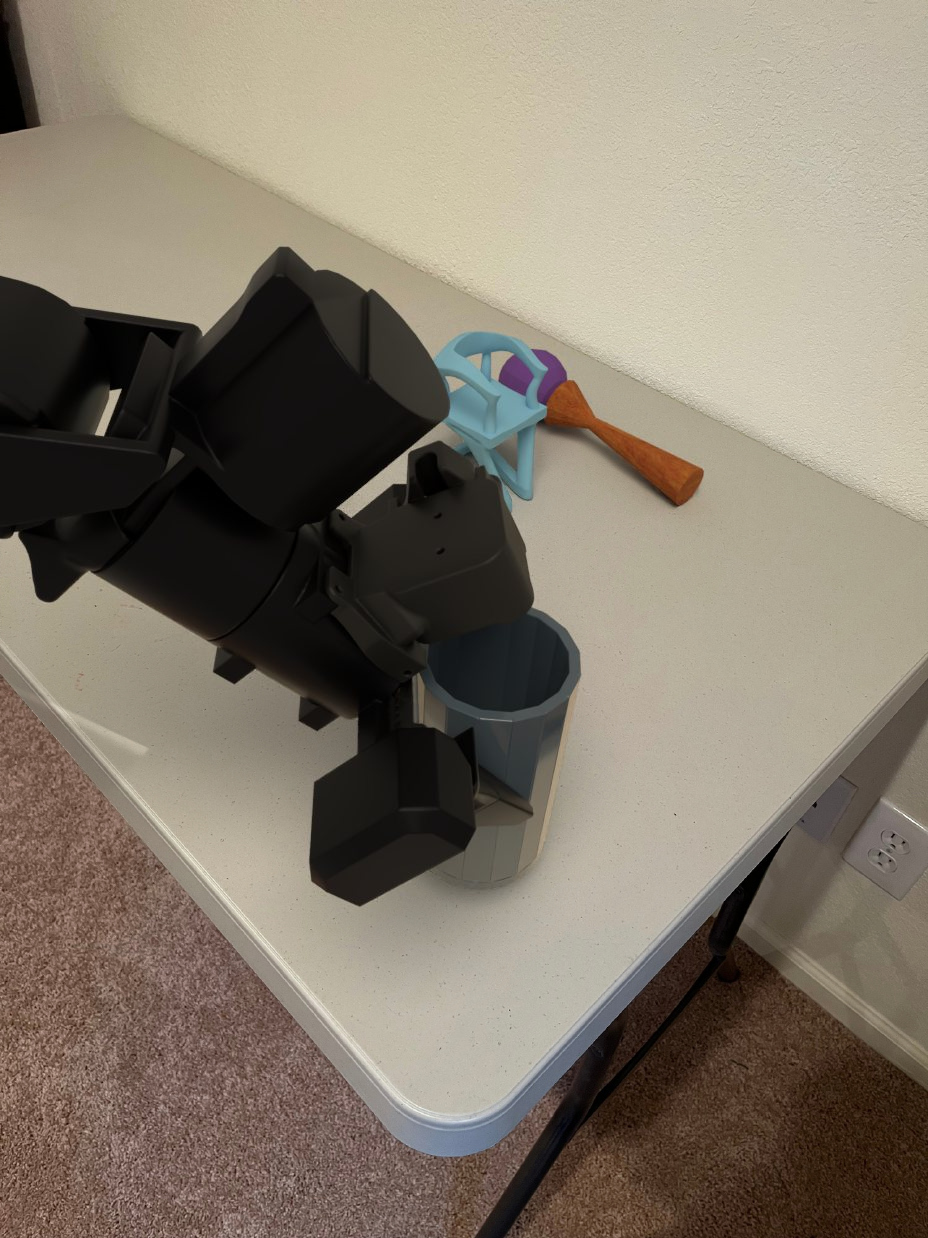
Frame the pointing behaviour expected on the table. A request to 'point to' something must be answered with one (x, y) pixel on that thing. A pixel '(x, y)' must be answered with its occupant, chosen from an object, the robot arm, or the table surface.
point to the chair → (493, 407)
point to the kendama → (601, 426)
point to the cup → (505, 730)
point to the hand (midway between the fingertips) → (516, 750)
